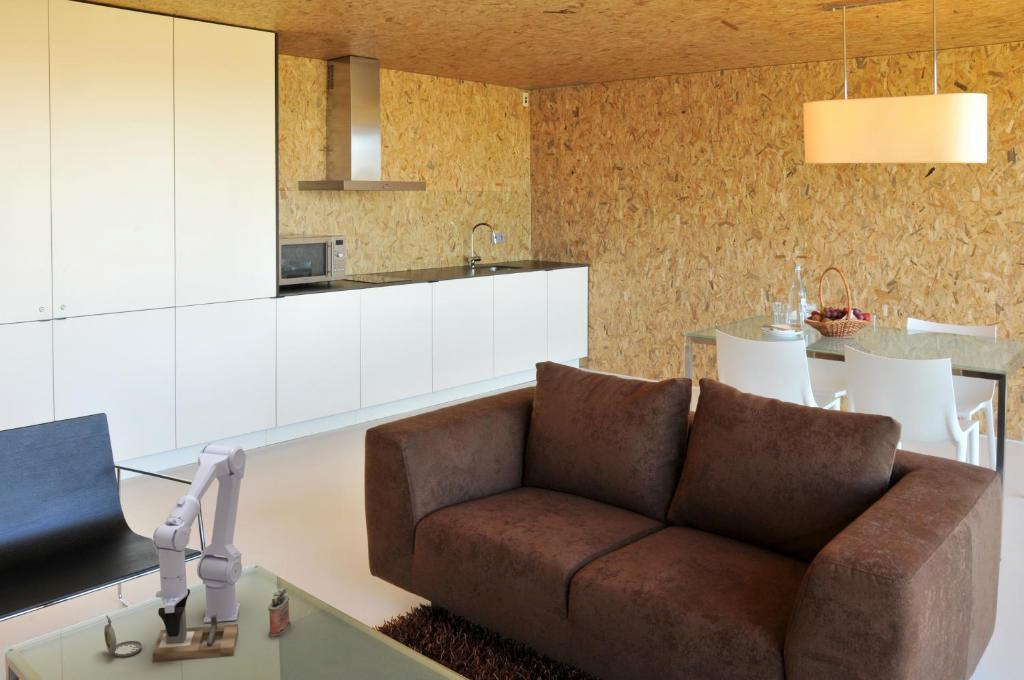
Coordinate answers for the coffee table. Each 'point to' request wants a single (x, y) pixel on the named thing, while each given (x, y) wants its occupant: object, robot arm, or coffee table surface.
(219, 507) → the robot arm
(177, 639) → the gray rectangular block
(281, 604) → the lighter
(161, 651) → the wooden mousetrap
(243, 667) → the coffee table surface
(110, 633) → the pocket watch
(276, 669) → the coffee table surface
